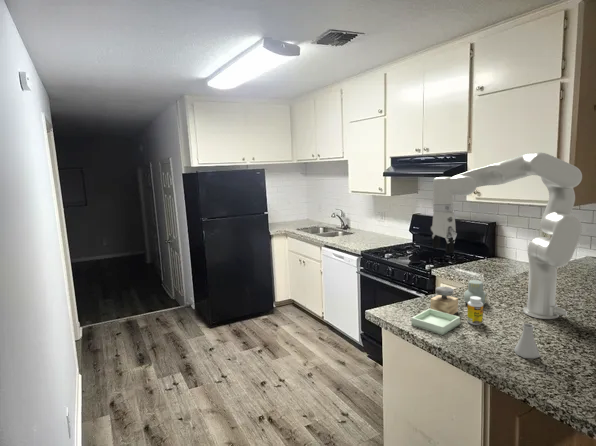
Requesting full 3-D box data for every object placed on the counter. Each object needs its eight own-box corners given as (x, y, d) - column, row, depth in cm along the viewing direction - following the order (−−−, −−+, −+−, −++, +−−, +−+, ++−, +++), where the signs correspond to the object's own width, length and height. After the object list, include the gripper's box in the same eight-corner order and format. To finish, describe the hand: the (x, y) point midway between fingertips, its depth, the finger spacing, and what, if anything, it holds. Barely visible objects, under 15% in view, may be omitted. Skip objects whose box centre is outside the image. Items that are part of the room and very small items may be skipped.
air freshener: (466, 298, 179) (467, 277, 178) (486, 300, 175) (487, 279, 173) (463, 306, 170) (463, 284, 168) (484, 309, 166) (484, 286, 164)
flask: (509, 349, 131) (510, 321, 129) (529, 347, 131) (531, 320, 130) (523, 360, 123) (525, 330, 122) (545, 358, 124) (546, 329, 122)
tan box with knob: (457, 311, 164) (458, 289, 163) (448, 317, 159) (448, 293, 158) (440, 307, 170) (440, 285, 169) (430, 312, 165) (430, 289, 163)
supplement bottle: (473, 326, 150) (474, 301, 148) (464, 320, 155) (464, 296, 153) (485, 324, 151) (486, 299, 149) (476, 318, 156) (477, 294, 155)
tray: (459, 324, 152) (460, 316, 151) (442, 335, 143) (442, 327, 143) (429, 315, 162) (429, 308, 161) (411, 324, 153) (411, 317, 153)
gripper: (464, 209, 146) (464, 254, 149) (440, 205, 163) (439, 245, 166) (446, 211, 145) (446, 255, 148) (423, 206, 162) (423, 246, 165)
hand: (442, 250), depth 157 cm, fingers open, 9 cm apart
